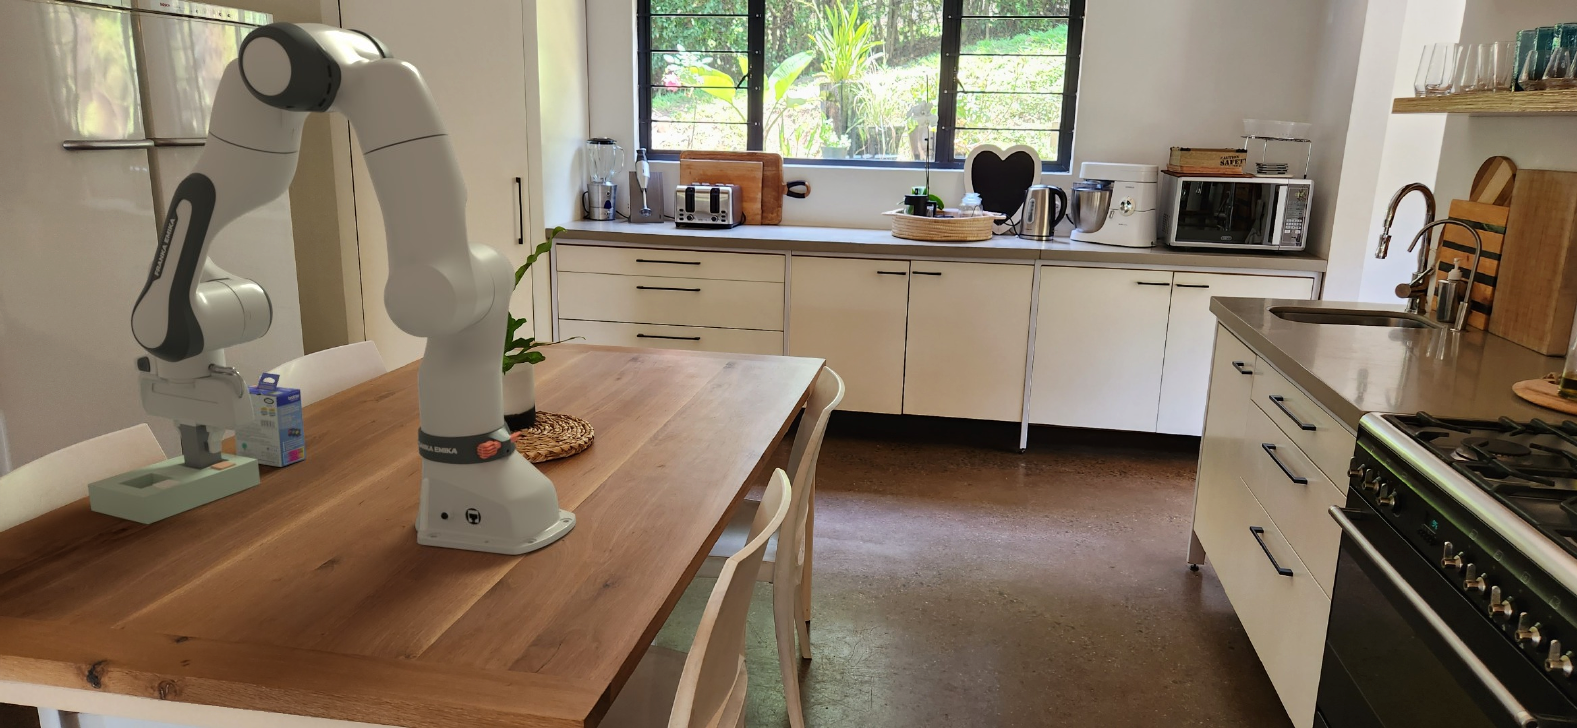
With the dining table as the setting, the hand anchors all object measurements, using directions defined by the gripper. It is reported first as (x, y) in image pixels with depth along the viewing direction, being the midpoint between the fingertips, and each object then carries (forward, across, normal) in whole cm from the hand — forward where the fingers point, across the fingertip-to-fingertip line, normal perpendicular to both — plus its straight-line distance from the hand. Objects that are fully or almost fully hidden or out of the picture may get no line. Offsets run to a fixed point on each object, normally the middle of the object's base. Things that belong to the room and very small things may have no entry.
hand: (202, 449), depth 151 cm
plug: (+5, 0, 0) cm, 5 cm away
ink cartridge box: (+6, +2, -14) cm, 15 cm away
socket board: (+6, 0, +4) cm, 8 cm away
